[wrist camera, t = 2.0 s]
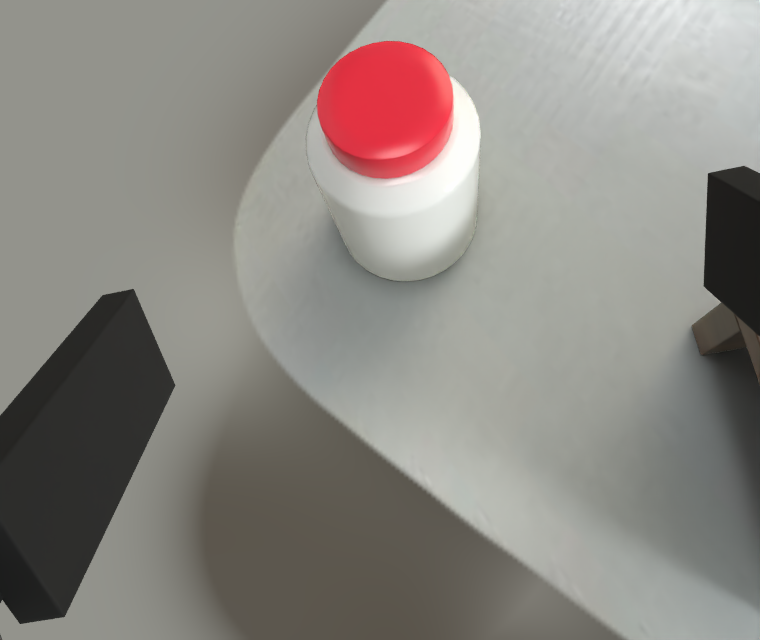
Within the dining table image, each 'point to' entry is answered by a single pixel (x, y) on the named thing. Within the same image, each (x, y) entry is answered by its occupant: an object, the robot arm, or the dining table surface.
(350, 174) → the pill bottle
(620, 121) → the dining table surface
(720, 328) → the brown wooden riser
